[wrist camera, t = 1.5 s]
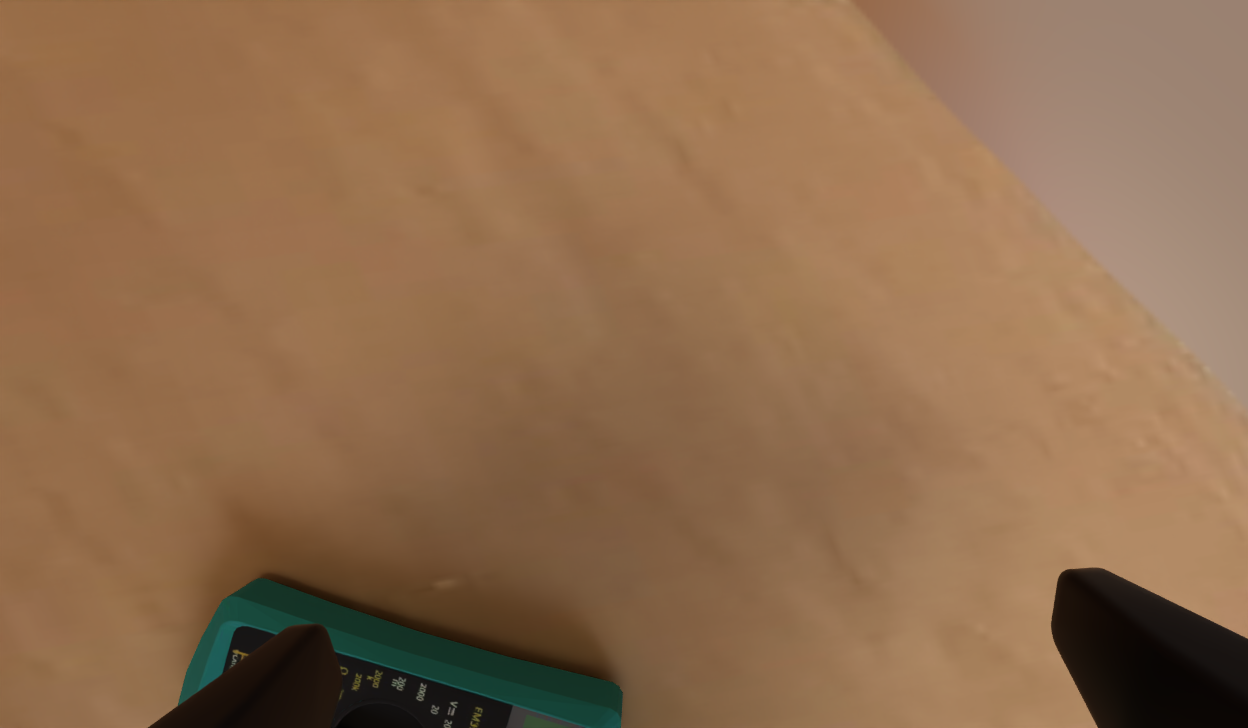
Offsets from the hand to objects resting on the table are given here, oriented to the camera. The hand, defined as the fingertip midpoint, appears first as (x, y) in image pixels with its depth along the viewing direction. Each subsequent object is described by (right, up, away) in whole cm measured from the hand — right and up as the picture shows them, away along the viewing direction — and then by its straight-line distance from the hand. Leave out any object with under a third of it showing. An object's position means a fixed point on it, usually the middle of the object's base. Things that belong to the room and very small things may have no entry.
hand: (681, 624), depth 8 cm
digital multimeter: (-8, -10, +17) cm, 21 cm away
